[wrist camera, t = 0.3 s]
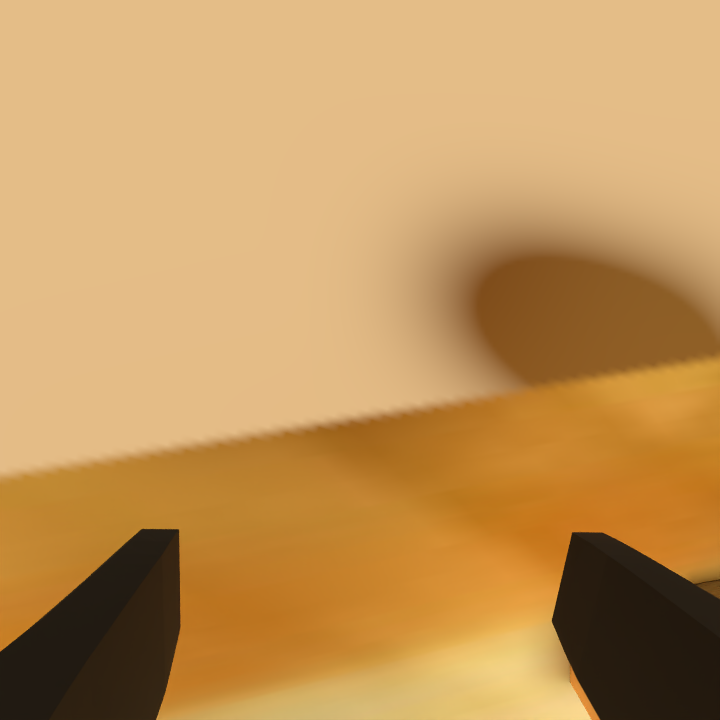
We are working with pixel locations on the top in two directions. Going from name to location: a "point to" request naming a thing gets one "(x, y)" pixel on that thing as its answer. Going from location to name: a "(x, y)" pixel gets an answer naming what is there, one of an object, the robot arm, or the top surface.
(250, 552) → the top surface
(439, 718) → the top surface
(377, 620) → the top surface
